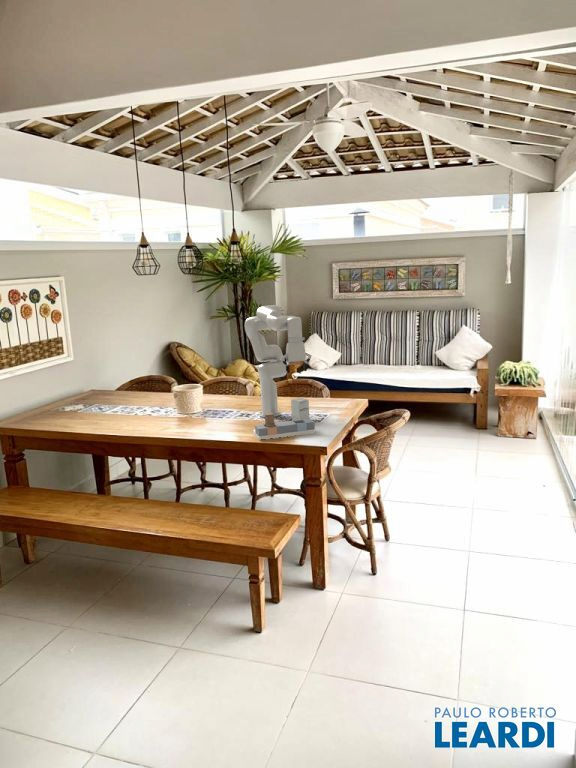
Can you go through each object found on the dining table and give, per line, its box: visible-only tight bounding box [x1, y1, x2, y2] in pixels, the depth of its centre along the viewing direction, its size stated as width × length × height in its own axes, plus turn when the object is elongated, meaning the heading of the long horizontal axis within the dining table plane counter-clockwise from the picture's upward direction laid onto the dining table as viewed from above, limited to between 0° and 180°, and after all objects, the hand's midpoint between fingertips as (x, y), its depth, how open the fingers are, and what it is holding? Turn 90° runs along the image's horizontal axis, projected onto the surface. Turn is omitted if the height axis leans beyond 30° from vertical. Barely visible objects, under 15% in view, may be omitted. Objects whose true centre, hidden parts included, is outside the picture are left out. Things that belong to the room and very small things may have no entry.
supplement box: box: [290, 397, 310, 421], centre depth 337 cm, size 7×7×13 cm
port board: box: [252, 418, 316, 441], centre depth 315 cm, size 14×30×6 cm, turn 107°
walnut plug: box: [264, 413, 276, 427], centre depth 309 cm, size 4×4×10 cm
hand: (296, 371), depth 322 cm, fingers open, 9 cm apart
